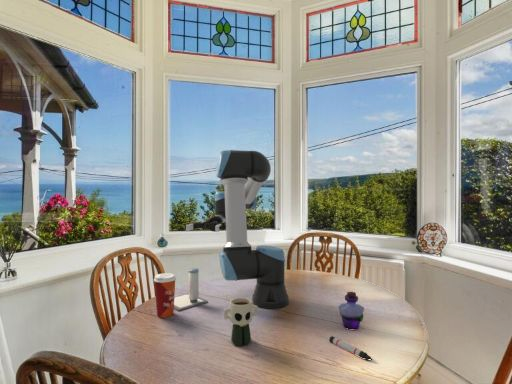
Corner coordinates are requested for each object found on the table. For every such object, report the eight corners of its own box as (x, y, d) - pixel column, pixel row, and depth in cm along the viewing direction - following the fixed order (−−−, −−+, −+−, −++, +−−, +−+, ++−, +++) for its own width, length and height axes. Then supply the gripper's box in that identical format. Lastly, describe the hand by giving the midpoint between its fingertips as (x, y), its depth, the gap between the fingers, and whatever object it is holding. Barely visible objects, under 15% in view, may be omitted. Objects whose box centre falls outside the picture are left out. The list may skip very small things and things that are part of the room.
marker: (329, 343, 106) (329, 337, 106) (333, 341, 107) (333, 335, 107) (370, 364, 94) (370, 357, 94) (375, 362, 95) (375, 355, 95)
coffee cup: (170, 319, 123) (170, 279, 123) (149, 318, 125) (149, 278, 125) (180, 311, 132) (179, 273, 131) (160, 309, 133) (160, 272, 133)
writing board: (207, 302, 141) (207, 300, 141) (178, 311, 132) (178, 309, 132) (189, 294, 151) (189, 292, 151) (160, 302, 142) (160, 300, 142)
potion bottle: (365, 333, 112) (366, 297, 112) (339, 331, 114) (339, 296, 113) (362, 322, 121) (362, 289, 120) (337, 320, 122) (337, 288, 122)
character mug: (226, 350, 101) (226, 307, 101) (221, 339, 108) (221, 299, 108) (261, 345, 104) (260, 303, 104) (254, 335, 111) (254, 296, 111)
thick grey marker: (200, 301, 140) (200, 269, 140) (192, 304, 137) (192, 271, 137) (195, 299, 143) (194, 267, 142) (186, 301, 140) (186, 269, 140)
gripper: (240, 231, 167) (228, 237, 146) (193, 230, 172) (175, 236, 151) (240, 216, 167) (228, 220, 146) (192, 215, 172) (174, 219, 151)
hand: (201, 228), depth 149 cm, fingers open, 13 cm apart
